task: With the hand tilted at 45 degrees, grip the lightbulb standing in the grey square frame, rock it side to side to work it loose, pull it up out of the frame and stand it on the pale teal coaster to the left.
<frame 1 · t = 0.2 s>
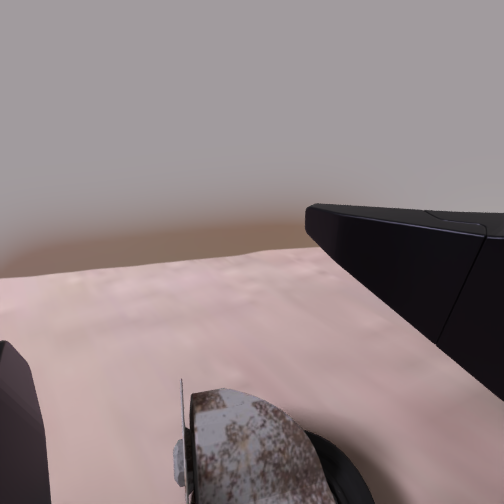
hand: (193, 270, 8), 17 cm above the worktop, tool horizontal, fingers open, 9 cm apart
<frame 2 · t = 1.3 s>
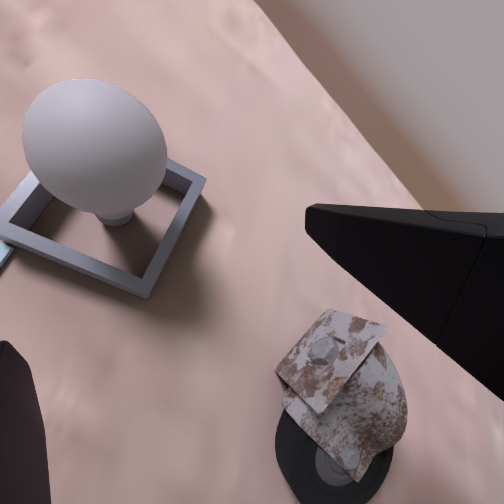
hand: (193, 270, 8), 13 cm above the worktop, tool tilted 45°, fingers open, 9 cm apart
grey square frame: (115, 214, 21), on the worktop
lightbulb: (115, 215, 21), resting in grey square frame
caster wheel: (319, 406, 23), on the worktop
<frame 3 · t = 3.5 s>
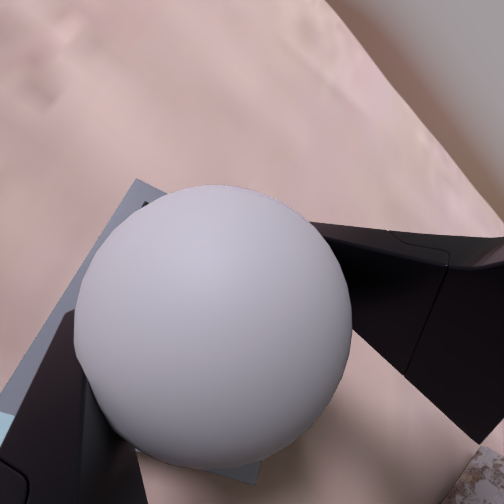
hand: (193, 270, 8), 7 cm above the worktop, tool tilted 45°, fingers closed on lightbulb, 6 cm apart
grey square frame: (183, 323, 14), on the worktop
lightbulb: (183, 323, 14), resting in grey square frame, touching gripper
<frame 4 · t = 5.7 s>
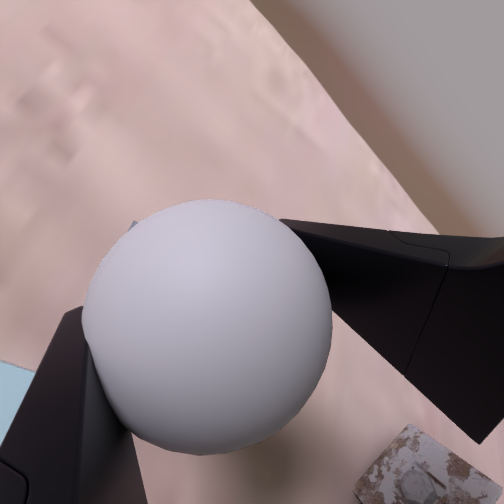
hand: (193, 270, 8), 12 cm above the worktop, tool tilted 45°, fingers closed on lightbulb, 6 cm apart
lightbulb: (163, 333, 15), point 5 cm above the worktop, touching gripper
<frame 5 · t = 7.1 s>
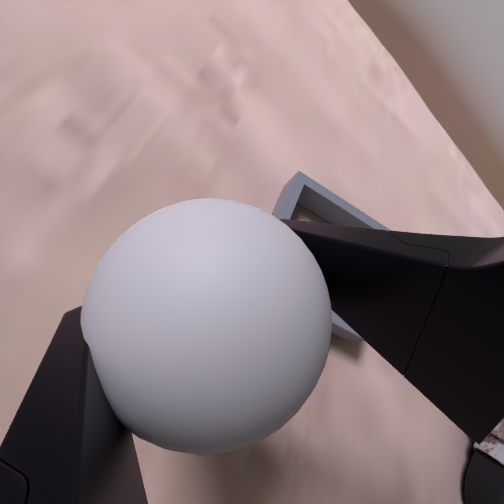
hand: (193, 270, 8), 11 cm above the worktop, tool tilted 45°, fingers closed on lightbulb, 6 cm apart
grey square frame: (313, 259, 24), on the worktop
lightbulb: (163, 332, 15), point 4 cm above the worktop, touching gripper
caster wheel: (487, 455, 25), on the worktop
when the fingers open (8 cm above the worktop, at t = 8.0 s): lightbulb stays where it is, resting on coaster.
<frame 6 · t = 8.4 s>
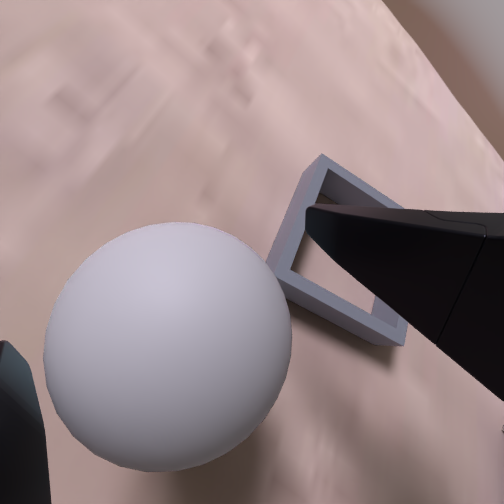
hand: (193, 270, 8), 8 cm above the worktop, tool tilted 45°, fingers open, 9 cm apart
grey square frame: (337, 254, 21), on the worktop
lightbulb: (160, 334, 15), resting on coaster
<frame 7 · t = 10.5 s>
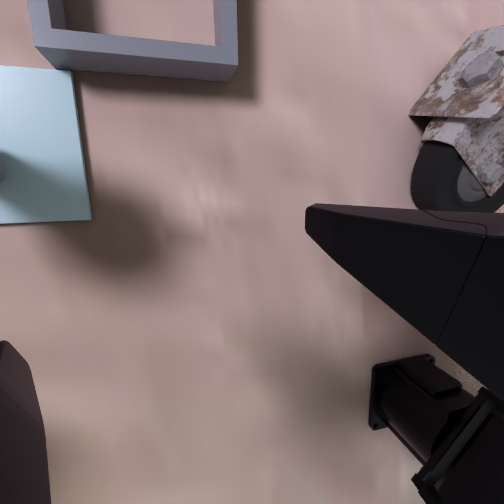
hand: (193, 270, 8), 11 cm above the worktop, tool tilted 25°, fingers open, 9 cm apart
coaster: (1, 149, 16), on the worktop
caster wheel: (445, 149, 24), on the worktop
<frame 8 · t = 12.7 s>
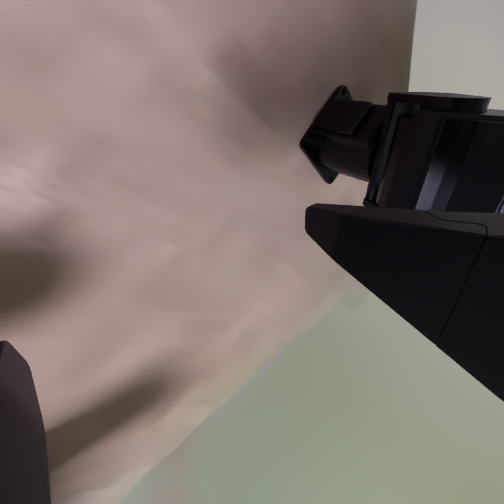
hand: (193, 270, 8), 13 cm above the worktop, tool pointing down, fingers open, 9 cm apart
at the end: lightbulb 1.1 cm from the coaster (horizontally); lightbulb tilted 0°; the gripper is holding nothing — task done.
